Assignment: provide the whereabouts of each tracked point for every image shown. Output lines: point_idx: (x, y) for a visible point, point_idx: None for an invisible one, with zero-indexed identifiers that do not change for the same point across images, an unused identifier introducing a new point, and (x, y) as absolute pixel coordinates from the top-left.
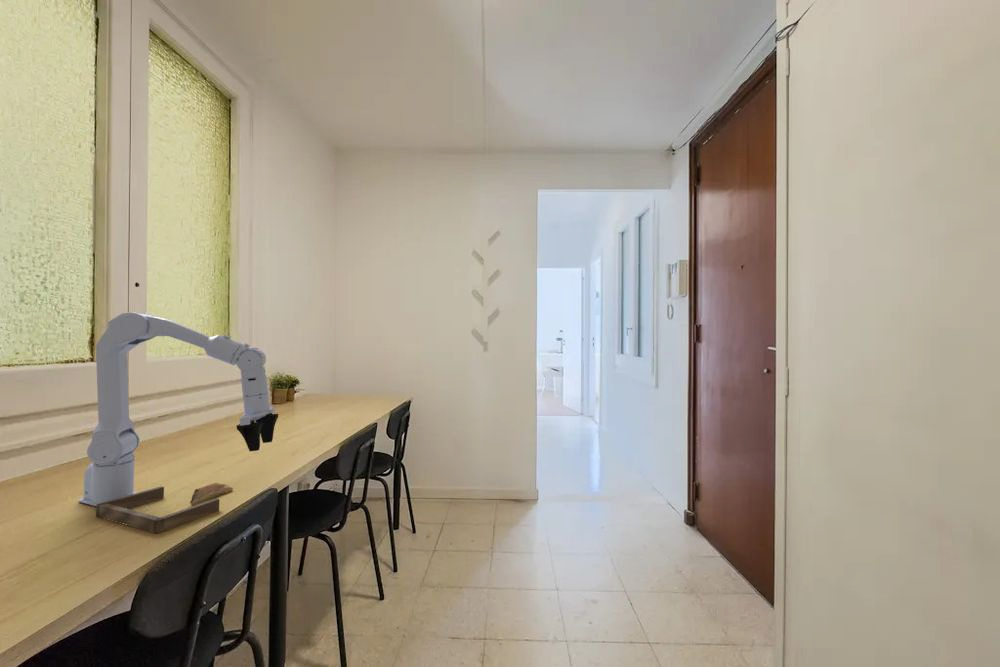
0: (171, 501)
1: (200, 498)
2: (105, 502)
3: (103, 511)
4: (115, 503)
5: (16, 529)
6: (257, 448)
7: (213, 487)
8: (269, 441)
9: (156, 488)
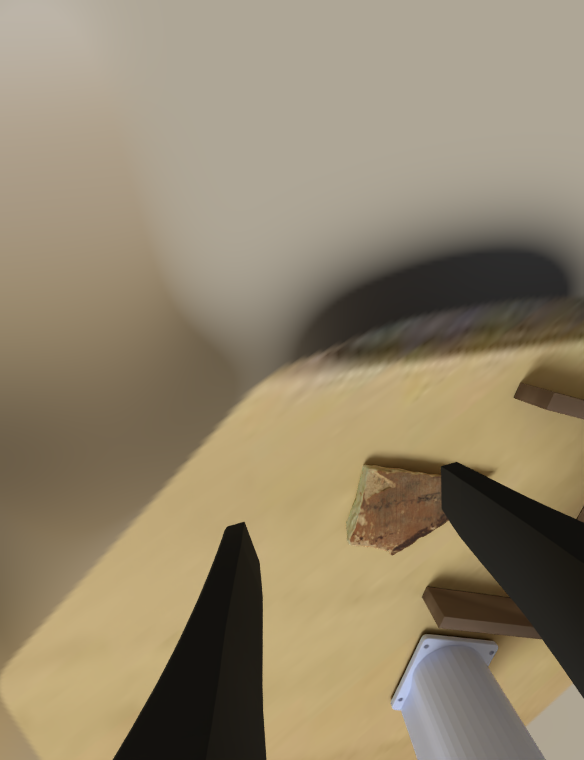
0: (452, 549)
1: None
2: None
3: None
4: None
5: None
6: (470, 471)
7: (391, 514)
8: (247, 535)
9: (457, 622)
